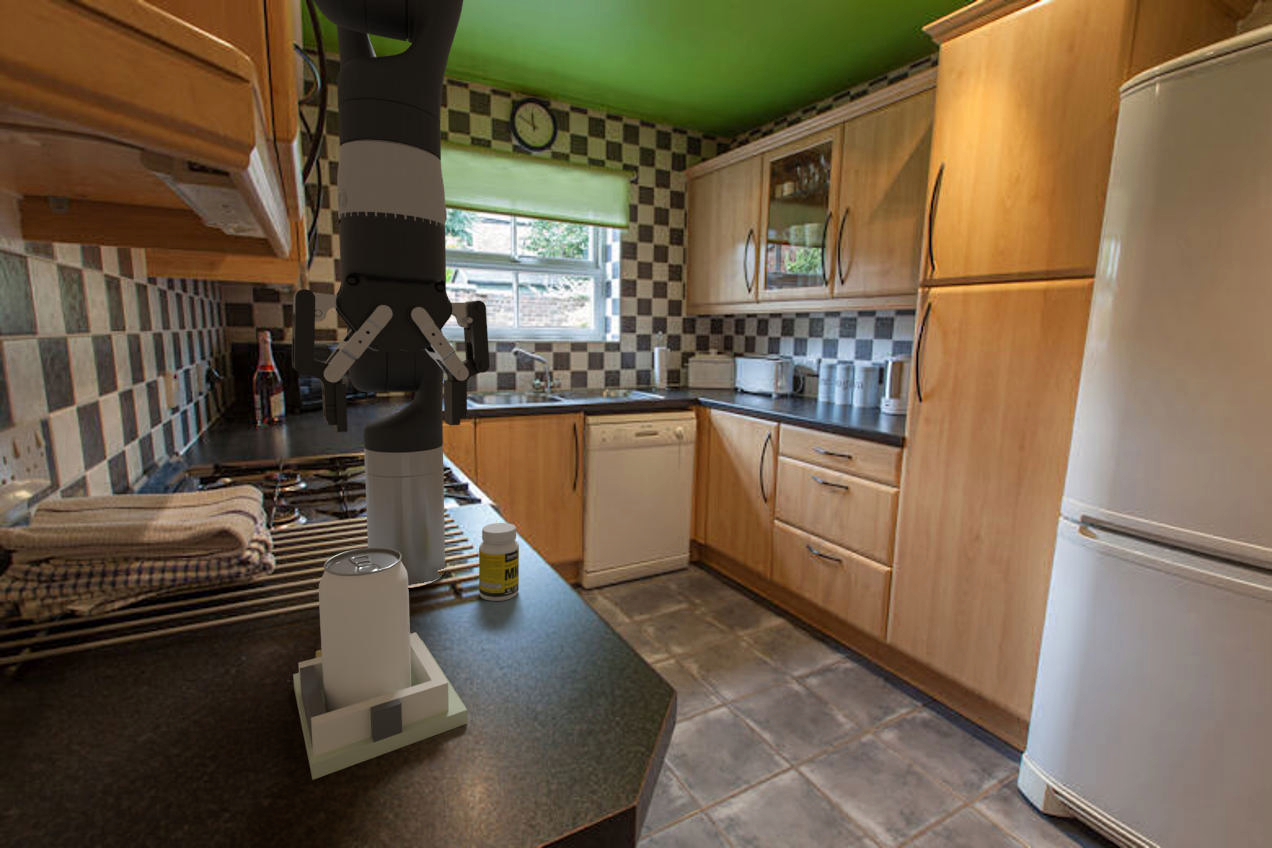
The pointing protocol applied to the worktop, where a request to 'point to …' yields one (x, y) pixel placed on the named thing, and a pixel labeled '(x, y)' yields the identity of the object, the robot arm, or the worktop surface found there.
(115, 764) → the worktop surface
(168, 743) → the worktop surface
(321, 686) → the socket board
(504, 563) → the supplement bottle
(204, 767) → the worktop surface
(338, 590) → the can
